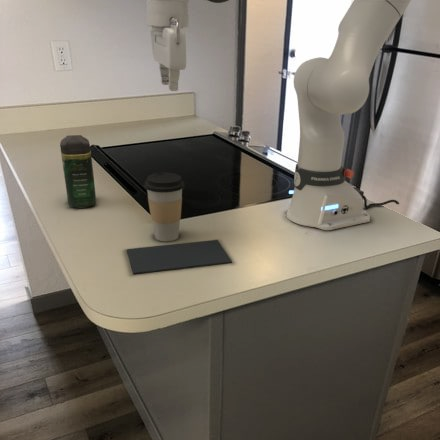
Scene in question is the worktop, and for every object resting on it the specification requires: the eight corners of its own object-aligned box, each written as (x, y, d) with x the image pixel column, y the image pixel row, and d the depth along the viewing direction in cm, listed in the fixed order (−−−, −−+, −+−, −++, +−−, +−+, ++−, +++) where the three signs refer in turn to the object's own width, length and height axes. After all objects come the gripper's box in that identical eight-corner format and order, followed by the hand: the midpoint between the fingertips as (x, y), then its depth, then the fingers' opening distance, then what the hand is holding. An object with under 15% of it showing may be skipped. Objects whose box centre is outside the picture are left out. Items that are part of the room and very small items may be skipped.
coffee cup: (166, 226, 126) (164, 168, 118) (193, 236, 121) (192, 177, 113) (139, 237, 120) (135, 177, 112) (166, 248, 115) (164, 186, 107)
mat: (217, 241, 119) (217, 239, 119) (231, 262, 109) (231, 261, 109) (126, 250, 113) (126, 249, 113) (133, 274, 103) (133, 272, 103)
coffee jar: (97, 207, 137) (89, 140, 127) (68, 210, 135) (58, 141, 125) (96, 196, 145) (88, 132, 135) (68, 198, 143) (58, 133, 133)
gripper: (194, 19, 95) (193, 94, 102) (173, 16, 112) (174, 81, 119) (162, 18, 94) (163, 94, 101) (146, 15, 111) (148, 81, 118)
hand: (169, 87), depth 110 cm, fingers open, 8 cm apart
